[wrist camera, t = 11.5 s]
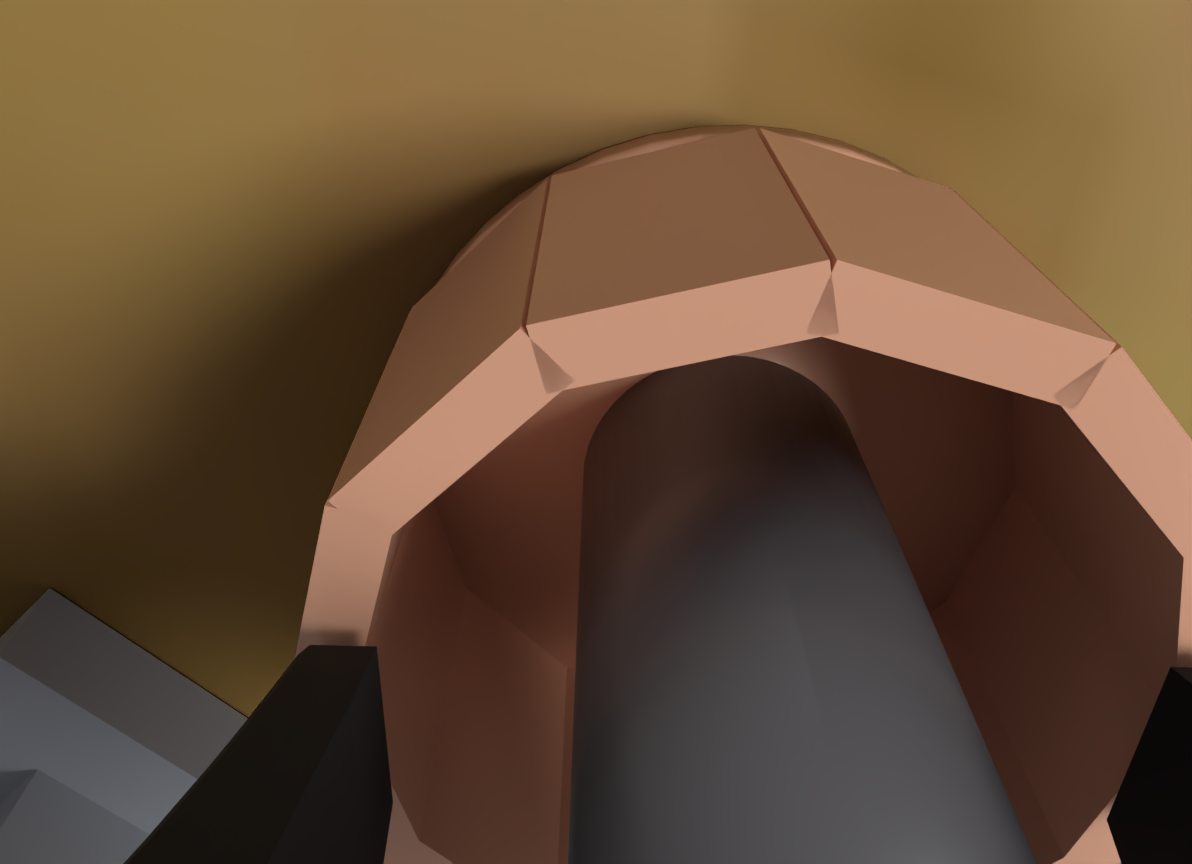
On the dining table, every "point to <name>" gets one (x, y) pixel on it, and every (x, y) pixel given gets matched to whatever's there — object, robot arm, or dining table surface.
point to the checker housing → (94, 738)
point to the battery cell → (761, 646)
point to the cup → (877, 422)
